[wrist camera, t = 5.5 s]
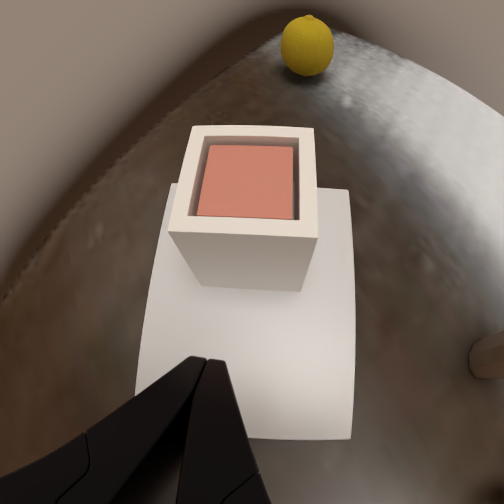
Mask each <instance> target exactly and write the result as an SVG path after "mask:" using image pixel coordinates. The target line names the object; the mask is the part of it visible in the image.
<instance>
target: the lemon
mask: <svg viewBox="0 0 504 504" xmlns="http://www.w3.org/2000/svg"><path fill="white" fill-rule="evenodd" d="M333 51H334V42H333V37H332V34H331V31H330V30H329V28H328V27H327V26H326V25H325V24H324V23H323V22H322V21H320V20H318V19H316V18H314V17H313V16H311V15H306V16H305V17H300V18H297V19H295V20H293V21H291V22H290V23H289V24H288V25H287V26H286V28H285V30H284V32H283V35H282V38H281V55H282V58H283V60H284V62H285V64H286V65H287V66H288V67H289V69H290V70H292V71H293V72H295V73H297V74H300V75H302V76H304V77H307V76H312V75H316V74H319V73H321V72H322V71H324V70H325V69H326V68H327V67H328V65H329V64H330V62H331V60H332V57H333Z"/></svg>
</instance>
